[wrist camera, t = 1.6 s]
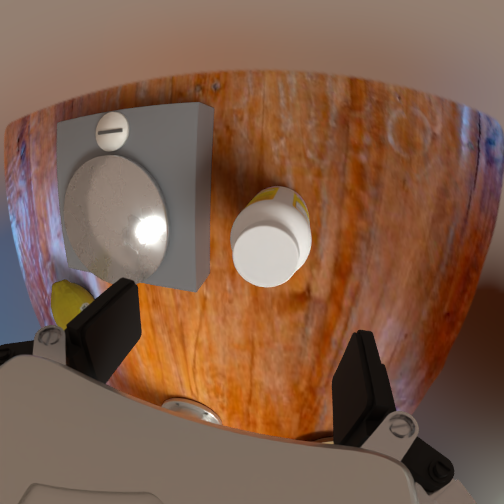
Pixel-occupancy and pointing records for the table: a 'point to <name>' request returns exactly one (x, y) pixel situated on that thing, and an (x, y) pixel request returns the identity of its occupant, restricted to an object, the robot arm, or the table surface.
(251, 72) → the table surface
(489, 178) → the table surface
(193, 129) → the kitchen scale
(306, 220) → the supplement bottle
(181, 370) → the table surface
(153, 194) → the scale pan
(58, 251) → the table surface
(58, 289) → the lemon
